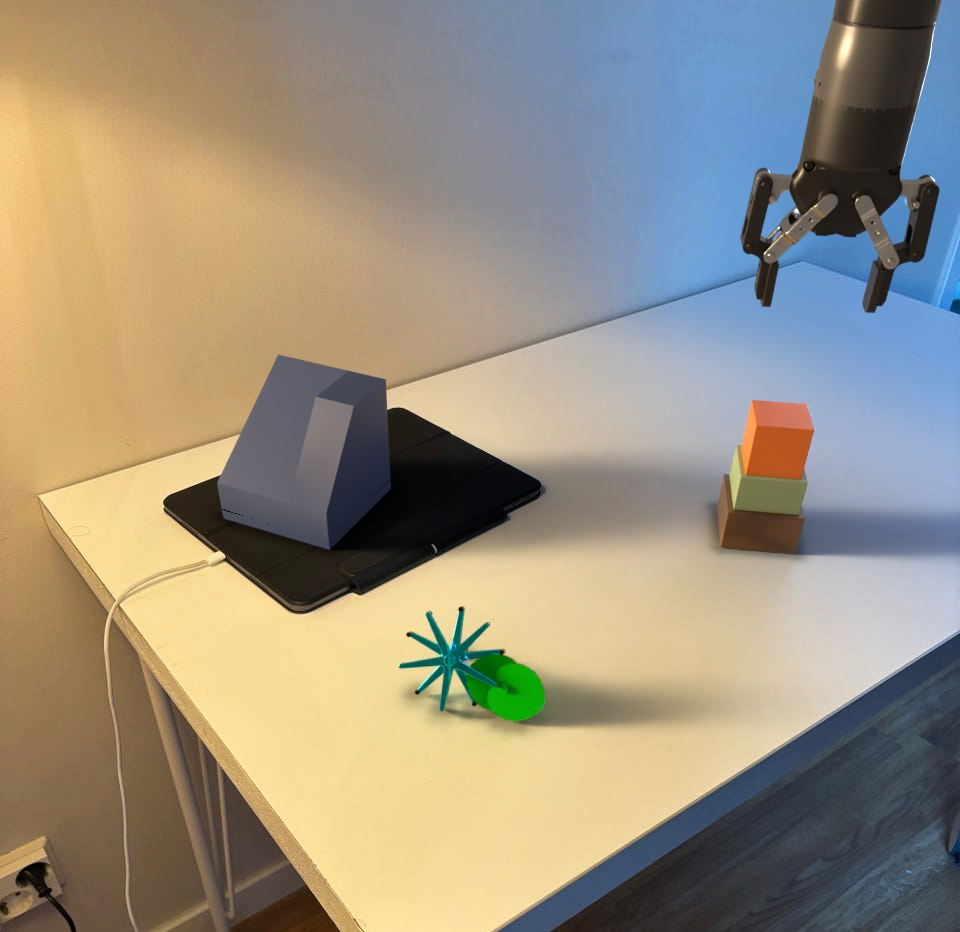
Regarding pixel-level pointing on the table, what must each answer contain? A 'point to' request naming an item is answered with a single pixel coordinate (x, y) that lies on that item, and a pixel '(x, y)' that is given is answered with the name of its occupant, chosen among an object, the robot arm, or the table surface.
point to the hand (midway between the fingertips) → (816, 306)
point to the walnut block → (756, 526)
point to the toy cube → (777, 439)
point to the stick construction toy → (481, 673)
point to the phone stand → (309, 453)
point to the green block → (765, 490)
